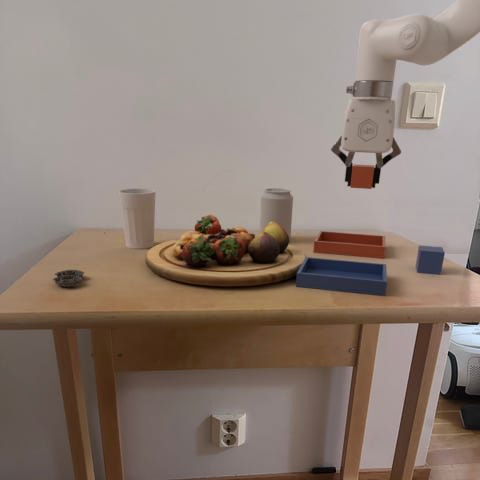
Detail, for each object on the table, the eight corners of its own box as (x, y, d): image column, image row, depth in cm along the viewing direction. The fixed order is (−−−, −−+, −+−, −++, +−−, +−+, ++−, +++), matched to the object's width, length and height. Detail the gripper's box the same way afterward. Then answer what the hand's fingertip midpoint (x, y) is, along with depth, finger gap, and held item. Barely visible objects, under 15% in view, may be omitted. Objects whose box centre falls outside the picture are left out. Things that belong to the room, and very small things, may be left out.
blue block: (438, 268, 98) (442, 247, 96) (440, 274, 94) (444, 252, 93) (415, 266, 99) (419, 245, 97) (416, 272, 95) (420, 250, 94)
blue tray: (384, 276, 92) (386, 264, 91) (384, 295, 82) (387, 281, 81) (304, 269, 96) (305, 256, 95) (295, 286, 86) (296, 273, 85)
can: (271, 244, 113) (274, 192, 109) (253, 238, 119) (255, 188, 114) (296, 241, 117) (300, 190, 112) (277, 235, 123) (280, 186, 118)
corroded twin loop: (51, 289, 81) (50, 283, 81) (57, 274, 88) (56, 269, 88) (82, 287, 82) (81, 281, 82) (85, 273, 89) (85, 268, 89)
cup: (119, 249, 106) (115, 193, 101) (124, 241, 113) (120, 188, 109) (156, 249, 107) (154, 194, 102) (158, 241, 114) (156, 188, 110)
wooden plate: (152, 245, 111) (150, 208, 108) (290, 244, 114) (292, 208, 110) (136, 290, 82) (133, 242, 78) (323, 288, 84) (327, 241, 81)
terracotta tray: (383, 246, 114) (385, 235, 113) (384, 258, 104) (385, 247, 103) (319, 241, 118) (319, 230, 117) (313, 252, 108) (314, 241, 107)
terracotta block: (371, 186, 106) (374, 165, 104) (371, 189, 102) (374, 167, 100) (351, 185, 107) (353, 164, 105) (350, 187, 103) (352, 166, 101)
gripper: (328, 90, 96) (319, 186, 103) (418, 92, 92) (403, 191, 99) (331, 92, 102) (323, 182, 109) (415, 94, 98) (401, 186, 106)
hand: (361, 185), depth 104 cm, fingers closed on terracotta block, 4 cm apart
